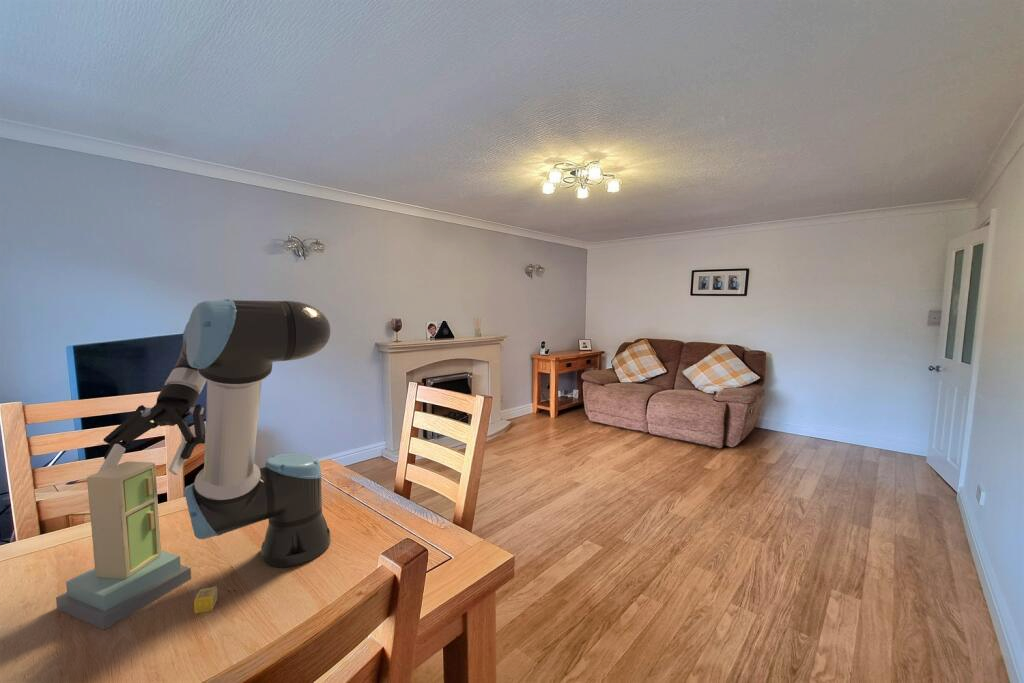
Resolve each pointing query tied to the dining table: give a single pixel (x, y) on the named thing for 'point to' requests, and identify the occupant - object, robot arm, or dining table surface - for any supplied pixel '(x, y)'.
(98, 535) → the toy refrigerator
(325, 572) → the dining table surface
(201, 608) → the alphabet block
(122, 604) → the brick stand
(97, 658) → the dining table surface
